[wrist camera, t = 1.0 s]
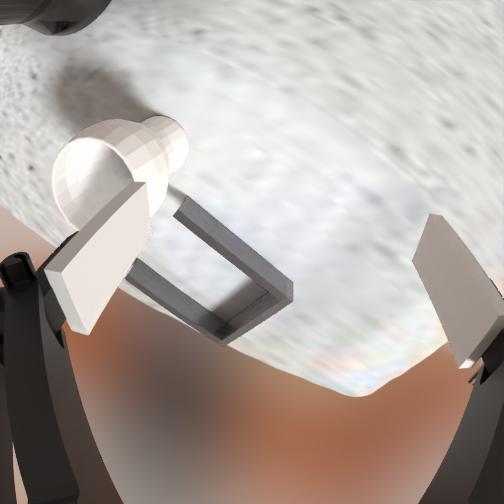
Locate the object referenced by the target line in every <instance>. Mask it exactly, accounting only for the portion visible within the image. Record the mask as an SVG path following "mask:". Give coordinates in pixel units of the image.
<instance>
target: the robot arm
mask: <svg viewBox="0 0 504 504" xmlns="http://www.w3.org/2000/svg"><path fill="white" fill-rule="evenodd" d="M110 2H111V0H0V25H8V24H24V25H26V26H28V27H30V28H32V29H34V30H36V31H38V32H40V33H42V34H45V35H51V36H63V35H69V34H72V33H75V32H77V31H79V30H81V29H83V28H85V27H86V26H87V25H89V24H90V23H91V22H93V21H94V20H95V19H96V18H97V17H98V16H99V15H100V14H101V13H102V12H103V11H104V10H105V8H106V7H107V6H108V4H109V3H110ZM152 234H153V232H152V225H151V217H150V209H149V200H148V191H147V182H131V183H130V184H129V185H128V186H126V187H125V188H124V189H123V190H122V191H121V192H120V193H119V194H117V195H116V196H115V197H114V198H113V199H112V200H111V201H110V202H109V203H108V204H107V205H105V206H104V207H103V208H102V209H101V210H100V211H99V212H98V213H97V214H96V215H95V216H94V217H93V218H92V219H91V220H90V221H89V222H88V223H87V224H86V225H85V226H84V227H83V228H82V229H81V230H80V231H77V232H75V233H74V234H72V235H71V236H69V237H67V238H66V239H65V240H64V241H63V243H62V244H61V245H60V247H58V248H57V249H56V250H55V251H54V253H52V254H51V255H50V256H49V257H48V259H47V260H46V261H45V262H44V263H43V264H42V265H41V266H40V267H39V269H38V270H37V271H35V269H34V267H33V264H32V262H31V259H30V257H29V254H27V253H26V252H18V253H14V254H12V255H10V256H8V257H7V258H5V259H4V260H3V261H2V262H1V263H0V278H1V280H2V282H3V284H4V286H5V287H1V288H0V504H17V501H16V493H15V483H14V470H13V445H12V444H14V449H15V453H16V458H17V462H18V465H19V470H20V473H21V477H22V481H23V484H24V487H25V490H26V494H27V498H28V504H124V503H123V502H122V500H121V498H120V496H119V494H118V492H117V490H116V488H115V486H114V484H113V482H112V480H111V478H110V475H109V473H108V471H107V469H106V467H105V464H104V462H103V460H102V457H101V455H100V452H99V450H98V448H97V445H96V442H95V440H94V437H93V435H92V432H91V429H90V426H89V423H88V420H87V418H86V414H85V411H84V408H83V405H82V402H81V398H80V395H79V391H78V388H77V384H76V381H75V377H74V373H73V369H72V365H71V361H70V357H69V351H68V347H67V342H66V337H65V332H64V330H63V328H62V325H63V323H64V321H65V320H67V322H68V324H69V326H70V328H71V329H72V331H76V332H79V333H82V334H86V335H89V334H90V332H91V330H92V328H93V327H94V325H95V323H96V321H97V320H98V318H99V316H100V314H101V313H102V311H103V309H104V308H105V306H106V304H107V303H108V301H109V300H110V298H111V296H112V295H113V293H114V291H115V290H116V288H117V287H118V285H119V284H120V282H121V280H122V279H123V277H124V276H125V274H126V273H127V271H128V270H129V268H130V266H131V265H132V263H133V262H134V260H135V259H136V257H137V256H138V254H139V253H140V251H141V250H142V249H143V247H144V246H145V244H146V243H147V241H148V240H149V238H150V237H151V235H152ZM412 262H413V264H414V266H415V268H416V270H417V272H418V274H419V276H420V278H421V280H422V282H423V284H424V286H425V288H426V290H427V292H428V295H429V297H430V299H431V301H432V303H433V306H434V308H435V310H436V312H437V315H438V317H439V319H440V322H441V324H442V327H443V329H444V331H445V334H446V336H447V339H448V341H449V344H450V347H451V349H452V352H453V355H454V357H455V360H456V363H457V366H458V369H461V368H469V367H473V366H474V365H475V364H476V362H477V361H478V360H479V359H480V357H482V359H483V362H484V364H483V365H482V366H481V367H480V368H479V369H478V370H477V371H476V373H475V374H474V375H473V376H472V377H471V378H470V380H469V381H468V382H469V383H470V382H472V380H473V379H476V381H475V383H474V384H473V386H474V387H473V390H472V393H471V396H470V399H469V402H468V404H467V407H466V410H465V412H464V415H463V417H462V420H461V422H460V425H459V427H458V430H457V432H456V434H455V436H454V439H453V441H452V443H451V445H450V448H449V449H448V451H447V454H446V455H445V458H444V459H443V462H442V463H441V465H440V467H439V469H438V471H437V473H436V475H435V476H434V478H433V480H432V482H431V484H430V485H429V487H428V488H427V490H426V492H425V493H424V495H423V497H422V498H421V500H420V502H419V503H418V504H504V298H502V295H501V293H500V292H499V291H498V289H497V287H496V286H495V284H494V283H493V281H492V280H491V279H490V278H489V277H488V275H487V274H486V273H485V271H484V270H483V268H482V267H481V265H480V264H479V263H478V261H477V260H476V258H475V257H474V256H473V254H472V253H471V252H470V250H469V249H468V248H467V246H466V245H465V244H464V242H463V241H462V240H461V238H460V237H459V236H458V235H457V233H456V232H455V231H454V230H453V228H452V227H451V226H450V225H449V223H448V222H447V221H446V220H445V219H444V218H443V216H440V215H435V214H429V217H428V220H427V223H426V226H425V228H424V231H423V234H422V237H421V239H420V242H419V245H418V247H417V250H416V252H415V255H414V257H413V260H412ZM12 442H13V443H12Z"/></svg>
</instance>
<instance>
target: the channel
mask: <svg viewBox="0 0 504 504" xmlns="http://www.w3.org/2000/svg"><path fill="white" fill-rule="evenodd" d="M173 217H174V218H176V219H177V220H178V221H179V222H181V223H182V224H183V225H184V226H186V227H187V228H188V229H189V230H191V231H192V232H193V233H194V234H196V235H197V236H198V237H199V238H201V239H202V240H203V241H204V242H206V243H207V244H208V245H209V246H211V247H212V248H213V249H214V250H216V251H217V252H218V253H219V254H221V255H222V256H223V257H225V258H226V259H227V260H228V261H230V262H231V263H232V264H233V265H235V266H236V267H237V268H239V269H240V270H241V271H242V272H244V273H245V274H246V275H248V276H249V277H250V278H251V279H253V280H254V281H255V282H257V283H258V284H259V285H260V286H262V287H263V288H264V289H266V290H267V291H268V293H267V294H265V295H264V296H263V297H261V298H260V299H258V300H257V301H256V302H254V303H253V304H252V305H250V306H249V307H247V308H246V309H245V310H243V311H242V312H240V313H239V314H238V315H236V316H235V317H233V318H232V319H231V320H229V321H228V322H225V321H223V320H222V319H220V318H219V317H217V316H216V315H214V314H213V313H211V312H210V311H209V310H207V309H206V308H204V307H203V306H201V305H200V304H199V303H197V302H196V301H194V300H193V299H192V298H190V297H189V296H187V295H186V294H185V293H183V292H182V291H180V290H179V289H178V288H176V287H175V286H174V285H172V284H171V283H170V282H168V281H167V280H166V279H164V278H163V277H162V276H160V275H159V274H158V273H156V272H155V271H154V270H152V269H151V268H150V267H148V266H147V265H146V264H145V263H143V262H142V261H141V260H139V259H138V260H137V261H136V263H135V264H134V266H133V267H132V268H131V270H130V271H129V273H128V274H127V276H126V277H125V279H126V280H127V281H128V282H130V283H131V284H132V285H134V286H135V287H136V288H138V289H139V290H140V291H142V292H143V293H144V294H146V295H147V296H149V297H150V298H151V299H153V300H154V301H155V302H157V303H158V304H160V305H161V306H162V307H164V308H165V309H167V310H168V311H170V312H171V313H172V314H174V315H175V316H177V317H178V318H180V319H181V320H183V321H184V322H186V323H187V324H189V325H190V326H192V327H193V328H195V329H196V330H198V331H199V332H201V333H202V334H204V335H205V336H207V337H208V338H210V339H211V340H213V341H215V342H216V343H218V344H219V345H221V346H223V347H224V346H225V345H227V344H229V343H230V342H232V341H234V340H235V339H237V338H238V337H240V336H241V335H243V334H245V333H246V332H248V331H249V330H251V329H252V328H254V327H255V326H257V325H259V324H260V323H262V322H263V321H265V320H266V319H268V318H269V317H271V316H272V315H274V314H275V313H277V312H278V311H280V310H281V309H283V308H284V307H286V306H287V305H289V304H290V303H292V302H293V282H292V281H291V280H289V279H288V278H287V277H286V276H285V275H283V274H282V273H281V272H280V271H278V270H277V269H276V268H275V267H274V266H272V265H271V264H270V263H269V262H268V261H266V260H265V259H264V258H263V257H261V256H260V255H259V254H258V253H257V252H255V251H254V250H253V249H252V248H251V247H249V246H248V245H247V244H246V243H245V242H243V241H242V240H241V239H240V238H238V237H237V236H236V235H235V234H234V233H232V232H231V231H230V230H229V229H228V228H226V227H225V226H224V225H223V224H221V223H220V222H219V221H218V220H217V219H215V218H214V217H213V216H212V215H210V214H209V213H208V212H207V211H206V210H204V209H203V208H202V207H201V206H200V205H198V204H197V203H196V202H195V201H193V200H192V199H191V198H190V197H189V196H188V197H187V198H186V199H185V201H184V202H183V203H182V204H181V206H180V207H179V208H178V210H177V211H176V212H175V214H174V215H173Z"/></svg>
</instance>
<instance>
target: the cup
mask: <svg viewBox="0 0 504 504" xmlns="http://www.w3.org/2000/svg"><path fill="white" fill-rule="evenodd" d="M187 154H188V140H187V136H186V134H185V132H184V130H183V128H182V127H181V126H180V125H179V124H178V123H177V122H176V121H174V120H172V119H170V118H168V117H164V116H154V117H151V118H148V119H146V120H144V121H143V122H141V123H137V122H132V121H128V120H122V119H111V120H105V121H102V122H99V123H96V124H93V125H91V126H89V127H87V128H85V129H83V130H81V131H80V132H79V133H78V134H77V135H76V136H75V137H73V138H72V139H71V140H70V141H69V142H68V143H67V144H66V145H65V146H64V147H63V148H62V149H61V150H60V151H59V153H58V155H57V157H56V159H55V161H54V165H53V169H52V190H53V195H54V199H55V201H56V204H57V206H58V208H59V211H60V212H61V214H62V215H63V217H64V218H65V220H66V221H67V222H68V223H69V224H70V225H71V226H72V227H73V228H74V229H75V230H76V231H80V230H81V229H82V228H83V227H84V226H85V225H86V224H87V223H88V222H89V221H90V220H91V219H92V218H93V217H94V216H95V215H96V214H97V213H98V212H99V211H100V210H101V209H102V208H103V207H104V206H105V205H107V204H108V203H109V202H110V201H111V200H112V199H113V198H114V197H115V196H116V195H117V194H119V193H120V192H121V191H122V190H123V189H124V188H125V187H126V186H128V185H129V184H130V183H131V182H147V191H148V200H149V209H150V217H151V216H152V215H153V214H154V213H155V212H156V210H157V209H158V208H159V207H160V205H161V203H162V201H163V199H164V197H165V195H166V191H167V187H168V182H169V177H170V174H171V173H173V172H174V171H176V170H178V169H179V168H180V167H181V166H182V165H183V163H184V161H185V160H186V158H187Z"/></svg>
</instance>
